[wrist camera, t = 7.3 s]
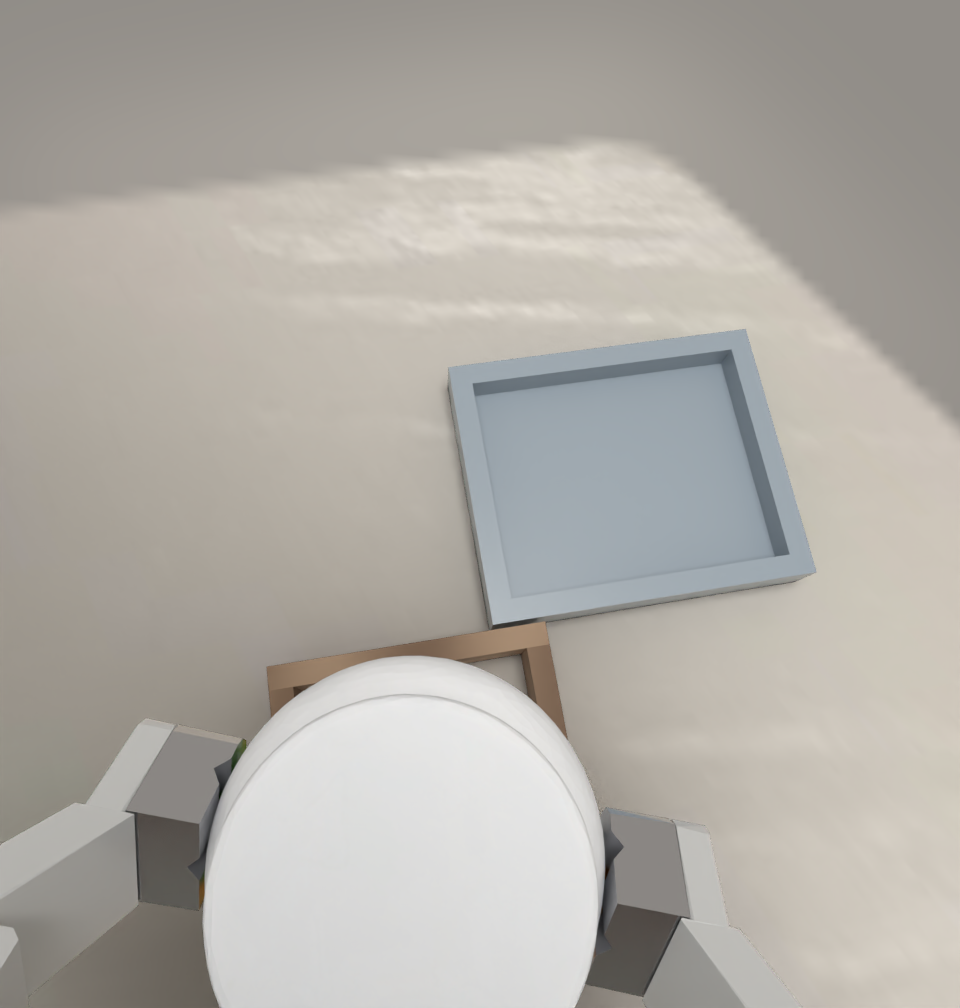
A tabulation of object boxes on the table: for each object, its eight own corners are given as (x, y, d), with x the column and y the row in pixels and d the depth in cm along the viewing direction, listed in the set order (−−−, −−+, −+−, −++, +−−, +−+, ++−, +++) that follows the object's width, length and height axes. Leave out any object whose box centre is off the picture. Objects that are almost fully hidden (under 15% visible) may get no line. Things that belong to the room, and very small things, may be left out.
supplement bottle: (282, 700, 18) (119, 657, 8) (520, 669, 18) (618, 598, 9) (297, 969, 16) (121, 1287, 7) (556, 927, 17) (721, 1170, 7)
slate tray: (489, 631, 29) (493, 624, 28) (447, 387, 32) (448, 367, 30) (795, 581, 30) (816, 572, 29) (729, 350, 33) (745, 329, 31)
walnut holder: (306, 966, 26) (295, 984, 24) (277, 671, 28) (266, 666, 27) (590, 909, 27) (602, 922, 25) (537, 629, 29) (545, 621, 27)
